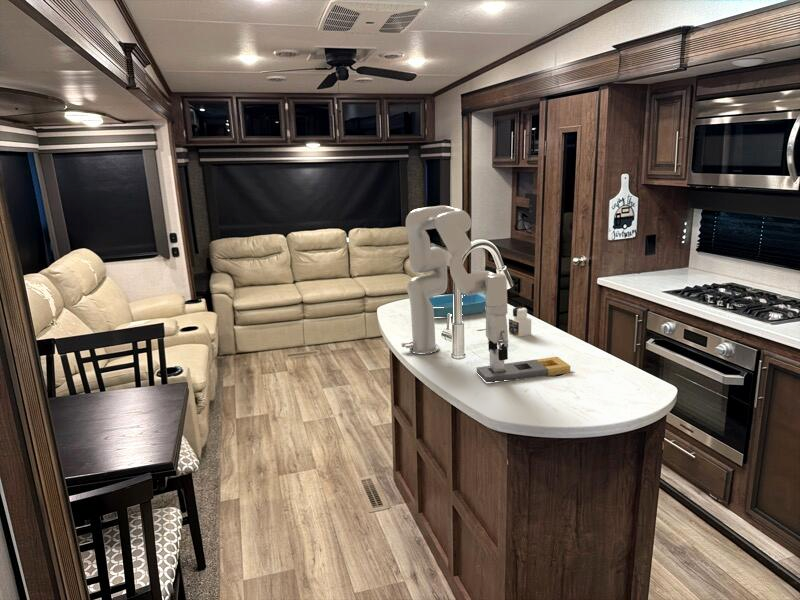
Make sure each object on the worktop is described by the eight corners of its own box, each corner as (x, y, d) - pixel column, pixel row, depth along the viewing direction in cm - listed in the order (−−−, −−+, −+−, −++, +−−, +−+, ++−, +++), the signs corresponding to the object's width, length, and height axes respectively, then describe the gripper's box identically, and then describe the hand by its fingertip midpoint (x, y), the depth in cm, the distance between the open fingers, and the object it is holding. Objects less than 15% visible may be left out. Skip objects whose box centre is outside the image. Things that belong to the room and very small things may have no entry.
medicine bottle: (508, 333, 244) (508, 307, 241) (521, 330, 247) (521, 304, 244) (518, 337, 238) (518, 311, 235) (531, 334, 240) (531, 308, 237)
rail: (486, 384, 192) (486, 377, 191) (476, 373, 201) (476, 367, 200) (570, 372, 197) (570, 365, 197) (557, 362, 207) (557, 356, 206)
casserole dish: (426, 323, 267) (425, 308, 265) (413, 311, 288) (412, 298, 286) (495, 313, 276) (495, 299, 274) (478, 303, 297) (477, 290, 295)
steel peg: (494, 379, 195) (493, 353, 193) (490, 375, 199) (489, 349, 196) (504, 378, 196) (504, 351, 193) (500, 374, 200) (500, 348, 197)
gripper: (478, 304, 199) (479, 349, 203) (495, 316, 182) (496, 364, 186) (497, 302, 200) (499, 346, 204) (516, 313, 183) (517, 361, 187)
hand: (498, 355), depth 195 cm, fingers open, 9 cm apart
